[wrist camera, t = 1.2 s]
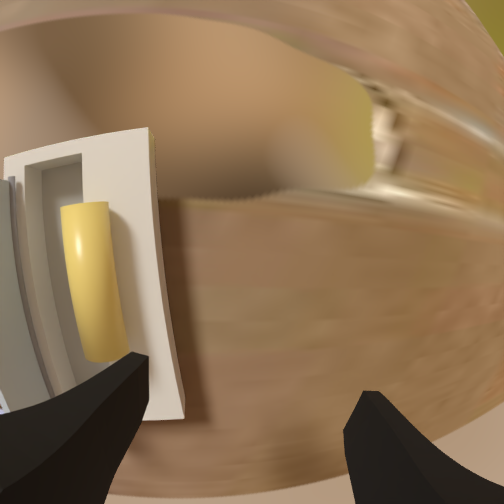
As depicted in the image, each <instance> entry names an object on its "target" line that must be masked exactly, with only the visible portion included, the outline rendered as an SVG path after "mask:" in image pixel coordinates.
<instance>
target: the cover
mask: <svg viewBox="0 0 504 504" xmlns="http://www.w3.org/2000/svg"><path fill="white" fill-rule="evenodd" d="M54 397H56V396H55V393H54V391H53V388H52V385H51V382H50V380H49V377H48V374H47V371H46V368H45V364H44V361H43V358H42V355H41V351H40V348H39V344H38V341H37V337H36V333H35V329H34V325H33V321H32V317H31V313H30V308H29V303H28V298H27V293H26V288H25V282H24V276H23V270H22V263H21V256H20V248H19V239H18V228H17V214H16V188H15V176H9V177H8V181H7V180H0V404H1V406H2V409H3V411H4V413H9V412H13V411H16V410H20V409H23V408H26V407H30V406H33V405H36V404H39V403H41V402H44V401H46V400H49V399H51V398H54Z"/></svg>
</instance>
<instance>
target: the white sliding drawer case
mask: <svg viewBox="0 0 504 504" xmlns="http://www.w3.org/2000/svg"><path fill="white" fill-rule="evenodd" d="M9 176H15V188H16V214H17V228H18V239H19V248H20V256H21V263H22V270H23V276H24V282H25V288H26V293H27V298H28V303H29V308H30V313H31V317H32V321H33V325H34V329H35V333H36V337H37V341H38V344H39V348H40V351H41V355H42V358H43V361H44V364H45V368H46V371H47V374H48V377H49V380H50V382H51V385H52V388H53V391H54V393H55V396H58V395H60V394H62V393H64V392H66V391H68V390H70V389H72V388H74V387H76V386H78V385H79V384H81V383H83V382H85V381H86V380H88V379H90V378H91V377H93V376H95V375H96V374H98V373H99V372H101V371H103V370H104V369H106V368H107V367H109V366H110V365H112V364H113V363H115V362H116V361H118V360H119V359H118V360H115V361H111V362H104V363H96V362H91V361H88V360H87V359H86V358H85V355H84V352H83V348H82V344H81V340H80V336H79V332H78V327H77V323H76V318H75V314H74V309H73V304H72V298H71V293H70V287H69V281H68V275H67V268H66V261H65V253H64V245H63V235H62V225H61V211H60V207H63V206H67V205H72V204H78V203H86V202H99V201H107V202H109V214H110V226H111V236H112V246H113V254H114V262H115V270H116V277H117V284H118V290H119V297H120V303H121V308H122V314H123V319H124V325H125V330H126V335H127V339H128V344H129V349H130V350H129V353H130V352H136V353H139V354H143V355H147V356H149V403H148V405H147V408H146V411H145V414H144V417H143V419H142V420H171V419H185V393H184V389H183V384H182V379H181V373H180V368H179V363H178V357H177V352H176V346H175V340H174V334H173V328H172V322H171V315H170V308H169V301H168V294H167V286H166V279H165V270H164V262H163V253H162V243H161V233H160V222H159V209H158V195H157V180H156V159H155V138H154V137H153V135H152V133H151V131H150V130H149V128H148V127H147V128H139V129H132V130H125V131H119V132H113V133H107V134H101V135H96V136H90V137H85V138H80V139H76V140H71V141H66V142H61V143H57V144H53V145H49V146H45V147H41V148H37V149H33V150H29V151H26V152H22V153H18V154H15V155H12V156H8V157H5V158H4V180H7V181H8V177H9ZM129 353H128V354H129ZM125 356H126V355H125ZM120 359H121V358H120Z"/></svg>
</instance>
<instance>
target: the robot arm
mask: <svg viewBox="0 0 504 504" xmlns="http://www.w3.org/2000/svg"><path fill="white" fill-rule="evenodd" d="M148 403H149V356H147V355H143V354H139V353H136V352H130V353H129V354H127V355H126V356H124V357H122V358H121V359H119V360H118V361H116V362H115V363H113V364H112V365H110V366H109V367H107V368H106V369H104V370H103V371H101V372H99V373H98V374H96V375H95V376H93V377H91V378H90V379H88V380H86V381H85V382H83V383H81V384H79V385H78V386H76V387H74V388H72V389H70V390H68V391H66V392H64V393H62V394H60V395H58V396H56V397H54V398H51V399H49V400H46V401H44V402H41V403H39V404H36V405H33V406H30V407H26V408H23V409H20V410H16V411H13V412H9V413H4V411H3V409H0V504H104V503H105V500H106V496H107V494H108V491H109V488H110V485H111V483H112V480H113V478H114V475H115V473H116V471H117V469H118V467H119V465H120V463H121V461H122V459H123V457H124V455H125V453H126V451H127V450H128V448H129V446H130V444H131V442H132V440H133V438H134V436H135V434H136V432H137V430H138V428H139V426H140V424H141V422H142V419H143V417H144V414H145V411H146V408H147V405H148ZM343 434H344V448H345V457H346V461H347V466H348V471H349V475H350V480H351V485H352V489H353V493H354V498H355V504H504V487H503V486H501V485H498V484H496V483H493V482H491V481H489V480H487V479H484V478H482V477H480V476H479V475H477V474H475V473H473V472H472V471H470V470H468V469H466V468H465V467H463V466H461V465H460V464H458V463H457V462H456V461H454V460H453V459H451V458H450V457H449V456H447V455H446V454H445V453H443V452H442V451H441V450H439V449H438V448H437V447H436V446H435V445H434V444H432V443H431V442H430V441H429V440H428V439H427V438H426V437H425V436H424V435H422V434H421V433H420V432H419V431H418V430H417V429H416V428H415V427H414V426H413V425H412V424H411V423H410V422H409V421H408V420H407V419H406V418H405V417H404V416H403V415H402V414H401V413H400V412H399V411H398V410H397V409H396V408H395V406H394V405H393V404H392V403H391V402H390V401H389V400H388V399H387V398H386V397H385V396H384V395H382V394H381V393H380V392H379V391H363V392H362V395H361V397H360V399H359V401H358V403H357V405H356V407H355V409H354V411H353V412H352V414H351V416H350V418H349V420H348V422H347V424H346V426H345V428H344V429H343Z"/></svg>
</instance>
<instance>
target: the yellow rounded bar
mask: <svg viewBox="0 0 504 504" xmlns="http://www.w3.org/2000/svg"><path fill="white" fill-rule="evenodd" d="M60 211H61V225H62V235H63V245H64V253H65V261H66V268H67V275H68V281H69V287H70V293H71V298H72V304H73V309H74V314H75V318H76V323H77V327H78V332H79V336H80V340H81V344H82V348H83V352H84V355H85V358H86V359H87V360H88V361H91V362H96V363H104V362H111V361H115V360H118V359H120V358H122V357H124V356H125V355H127V354H128V353H129V350H130V349H129V344H128V339H127V335H126V330H125V325H124V319H123V314H122V308H121V303H120V297H119V290H118V284H117V277H116V270H115V262H114V254H113V246H112V236H111V226H110V214H109V202H107V201H99V202H86V203H78V204H72V205H67V206H63V207H60Z"/></svg>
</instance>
